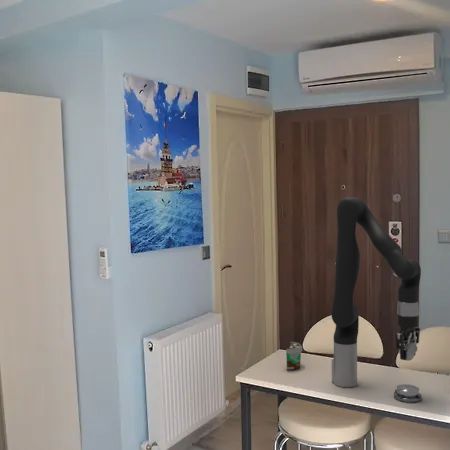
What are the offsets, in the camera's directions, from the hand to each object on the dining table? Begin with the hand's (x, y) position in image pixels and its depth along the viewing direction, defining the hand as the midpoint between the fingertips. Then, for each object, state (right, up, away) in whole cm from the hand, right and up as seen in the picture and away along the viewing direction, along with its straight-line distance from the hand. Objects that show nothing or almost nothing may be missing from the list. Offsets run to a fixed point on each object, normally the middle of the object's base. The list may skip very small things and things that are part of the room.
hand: (407, 357), depth 202 cm
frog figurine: (0, -1, 0) cm, 1 cm away
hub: (0, -15, +1) cm, 15 cm away
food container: (-37, -14, +37) cm, 54 cm away
